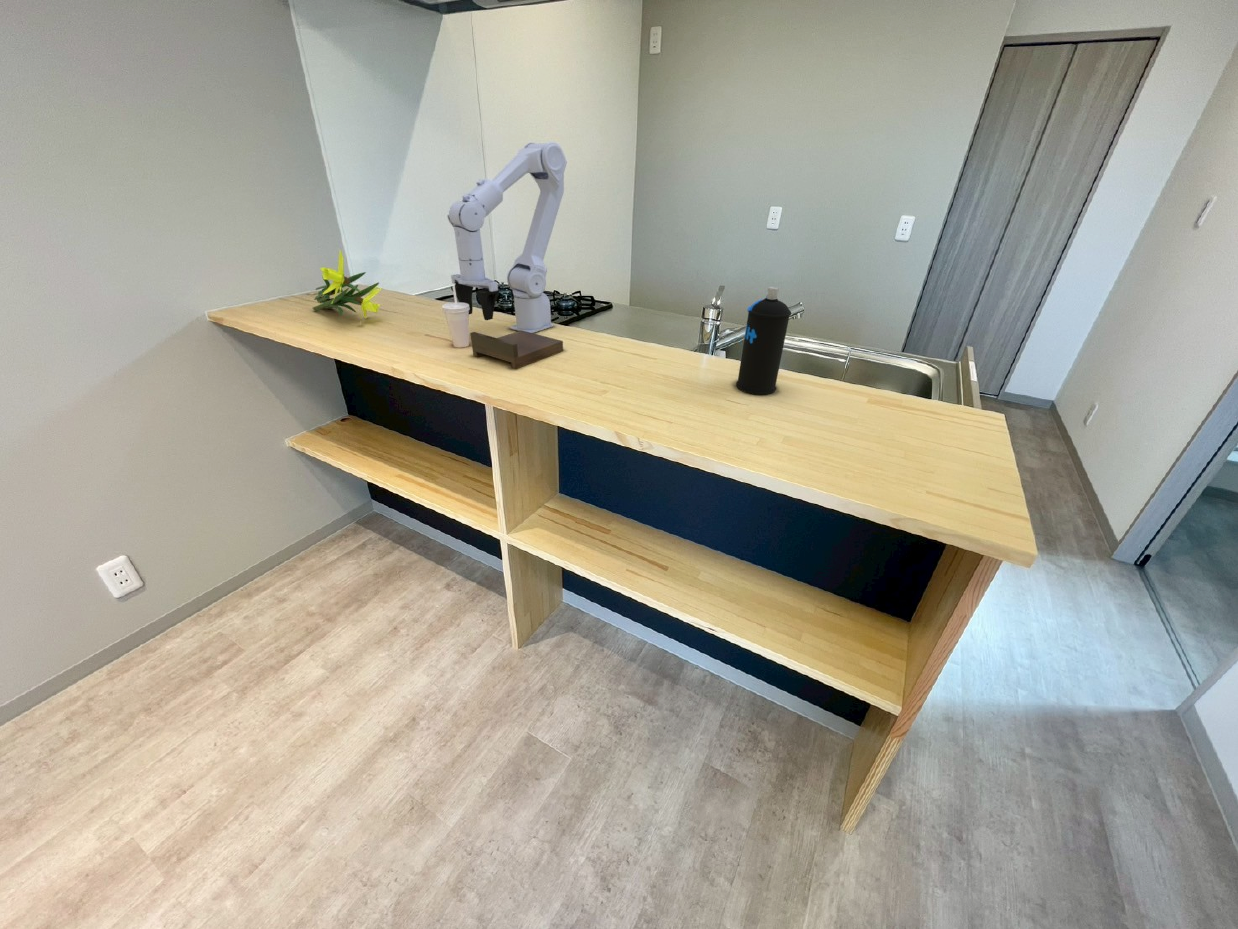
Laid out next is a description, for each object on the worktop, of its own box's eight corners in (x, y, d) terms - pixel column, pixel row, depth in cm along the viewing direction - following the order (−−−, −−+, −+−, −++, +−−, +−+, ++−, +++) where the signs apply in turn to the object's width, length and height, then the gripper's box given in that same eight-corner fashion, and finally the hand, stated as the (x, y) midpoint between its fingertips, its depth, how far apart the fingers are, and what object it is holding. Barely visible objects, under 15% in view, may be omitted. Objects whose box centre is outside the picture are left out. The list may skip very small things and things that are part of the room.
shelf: (522, 339, 126) (520, 318, 124) (563, 350, 120) (562, 328, 117) (473, 356, 115) (470, 332, 112) (515, 369, 109) (513, 345, 106)
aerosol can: (777, 383, 105) (797, 285, 94) (774, 397, 98) (795, 294, 87) (738, 377, 107) (753, 281, 96) (733, 391, 100) (748, 290, 90)
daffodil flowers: (362, 305, 156) (407, 292, 132) (330, 338, 151) (372, 331, 127) (314, 260, 146) (354, 237, 121) (278, 294, 141) (313, 277, 116)
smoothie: (478, 341, 124) (470, 284, 117) (469, 349, 119) (460, 290, 112) (454, 340, 125) (444, 283, 117) (443, 348, 119) (433, 288, 112)
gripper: (437, 257, 117) (446, 315, 124) (478, 264, 110) (485, 325, 117) (461, 254, 122) (468, 309, 129) (501, 260, 115) (507, 319, 122)
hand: (478, 316), depth 123 cm, fingers open, 7 cm apart
